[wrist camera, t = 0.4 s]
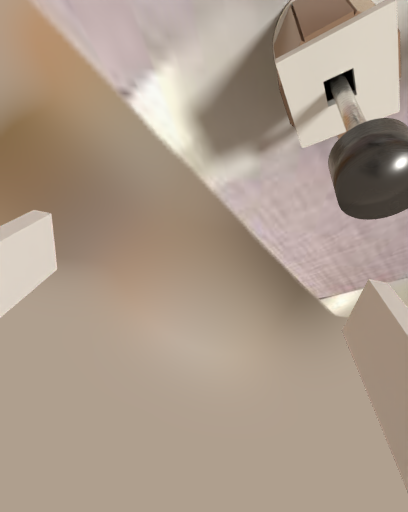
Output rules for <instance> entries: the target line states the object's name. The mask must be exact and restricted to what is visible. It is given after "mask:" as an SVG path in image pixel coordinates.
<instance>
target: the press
mask: <svg viewBox="0 0 408 512" xmlns="http://www.w3.org/2000/svg"><path fill="white" fill-rule="evenodd" d="M273 56H274V62H275V65H276V68H277V75H278V83H279V90H280V93H281V96H282V99H283V102H284V105H285V108H286V111H287V115H288V118H289V121H290V124H292V126H294V127H295V128H296V131H297V134H298V137H299V141H300V144H301V147H302V148H305V147H307V146H310V145H313V144H315V143H318V142H321V141H323V140H326V139H328V138H331V137H334V136H336V135H337V137H338V140H339V139H340V138H341V137H342V136H343V135H344V134H345V133H346V129H345V126H344V124H343V121H342V118H341V116H340V113H339V110H338V108H337V105H336V102H335V100H334V97H333V94H332V92H331V89H330V86H329V84H328V81H327V80H328V79H331V78H333V77H335V76H337V75H339V74H341V73H344V75H345V77H346V79H347V81H348V83H349V85H350V87H351V89H352V92H353V94H354V96H355V98H356V100H357V102H358V104H359V106H360V108H361V111H362V113H363V115H364V117H365V119H366V121H369V120H373V119H379V118H384V117H386V116H389V115H391V114H394V113H397V112H399V111H400V96H399V81H400V80H399V78H400V77H401V57H400V31H399V30H398V24H397V0H384V1H383V2H381V3H379V4H377V5H375V4H374V3H373V2H372V1H371V0H290V1H289V3H288V4H287V5H286V7H285V8H284V10H283V12H282V13H281V15H280V18H279V20H278V22H277V25H276V28H275V32H274V37H273Z"/></svg>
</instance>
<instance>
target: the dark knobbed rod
mask: <svg viewBox="0 0 408 512" xmlns="http://www.w3.org/2000/svg"><path fill="white" fill-rule="evenodd" d="M327 81H328V84H329V86H330V89H331V92H332V94H333V97H334V100H335V102H336V105H337V108H338V110H339V113H340V116H341V118H342V121H343V124H344V126H345V129H346V133H345V134H344V135H343V136H342V137H341V138H340V139H339V140H338V141H337V142H336V143H335V145H334V146H333V148H332V150H331V152H330V155H329V159H328V166H329V171H330V174H331V178H332V182H333V186H334V189H335V193H336V197H337V201H338V204H339V206H340V208H341V210H342V211H343V212H345V213H346V214H347V215H349V216H351V217H354V218H358V219H380V218H384V217H388V216H392V215H394V214H397V213H399V212H402V211H404V210H406V209H407V208H408V127H407V125H405V124H404V123H403V122H401V121H399V120H396V119H391V118H379V119H373V120H369V121H366V119H365V117H364V115H363V113H362V111H361V108H360V106H359V104H358V102H357V100H356V98H355V96H354V94H353V92H352V89H351V87H350V85H349V83H348V81H347V79H346V77H345V75H344V73H341V74H339V75H337V76H335V77H333V78H331V79H328V80H327Z"/></svg>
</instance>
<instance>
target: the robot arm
mask: <svg viewBox="0 0 408 512" xmlns="http://www.w3.org/2000/svg"><path fill="white" fill-rule="evenodd" d="M56 270H57V264H56V253H55V244H54V234H53V224H52V215H51V213H47V212H42V211H37V210H32V211H30V212H28V213H26V214H24V215H22V216H20V217H18V218H16V219H14V220H12V221H10V222H8V223H6V224H4V225H1V226H0V317H2V316H3V315H4V314H5V313H6V312H8V311H9V310H10V309H11V308H12V307H13V306H14V305H16V304H17V303H18V302H19V301H20V300H22V299H23V298H24V297H25V296H26V295H28V294H29V293H30V292H31V291H32V290H33V289H34V288H36V287H37V286H38V285H39V284H40V283H42V282H43V281H44V280H45V279H46V278H47V277H49V276H50V275H51V274H52V273H53V272H54V271H56ZM342 333H343V335H344V338H345V340H346V343H347V345H348V348H349V350H350V352H351V355H352V357H353V360H354V362H355V365H356V367H357V369H358V372H359V374H360V377H361V379H362V382H363V384H364V387H365V389H366V391H367V394H368V396H369V399H370V401H371V403H372V406H373V408H374V411H375V413H376V416H377V418H378V421H379V423H380V426H381V428H382V431H383V433H384V435H385V438H386V440H387V443H388V445H389V448H390V450H391V453H392V455H393V457H394V460H395V462H396V465H397V467H398V470H399V472H400V475H401V477H402V479H403V482H404V484H405V487H406V489H407V492H408V308H407V306H406V305H405V304H404V303H403V301H402V300H401V299H400V297H399V296H398V295H397V294H396V292H395V291H394V290H393V288H392V287H391V286H390V285H389V283H385V282H380V281H376V280H371V279H369V280H368V281H367V283H366V285H365V287H364V289H363V291H362V293H361V295H360V297H359V299H358V301H357V303H356V304H355V306H354V308H353V310H352V312H351V314H350V316H349V318H348V320H347V322H346V324H345V325H344V327H343V329H342Z"/></svg>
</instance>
